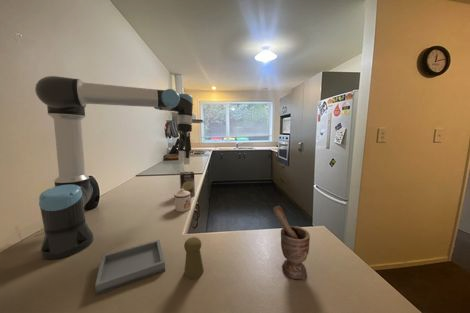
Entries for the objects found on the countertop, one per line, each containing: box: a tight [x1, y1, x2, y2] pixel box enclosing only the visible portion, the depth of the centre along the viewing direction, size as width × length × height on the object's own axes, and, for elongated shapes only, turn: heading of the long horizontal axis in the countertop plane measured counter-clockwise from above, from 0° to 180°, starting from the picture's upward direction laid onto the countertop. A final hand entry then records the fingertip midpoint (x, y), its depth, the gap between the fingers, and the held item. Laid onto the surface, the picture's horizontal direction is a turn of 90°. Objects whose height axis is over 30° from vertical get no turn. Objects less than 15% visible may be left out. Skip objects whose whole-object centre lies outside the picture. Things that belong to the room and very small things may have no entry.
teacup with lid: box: [173, 189, 192, 213], centre depth 106 cm, size 12×9×12 cm
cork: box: [183, 236, 205, 280], centre depth 58 cm, size 6×6×11 cm
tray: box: [94, 239, 166, 296], centre depth 61 cm, size 18×14×3 cm
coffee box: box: [179, 171, 196, 198], centre depth 125 cm, size 9×6×16 cm
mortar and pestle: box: [273, 205, 311, 280], centre depth 58 cm, size 12×9×20 cm
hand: (183, 163), depth 100 cm, fingers open, 13 cm apart
